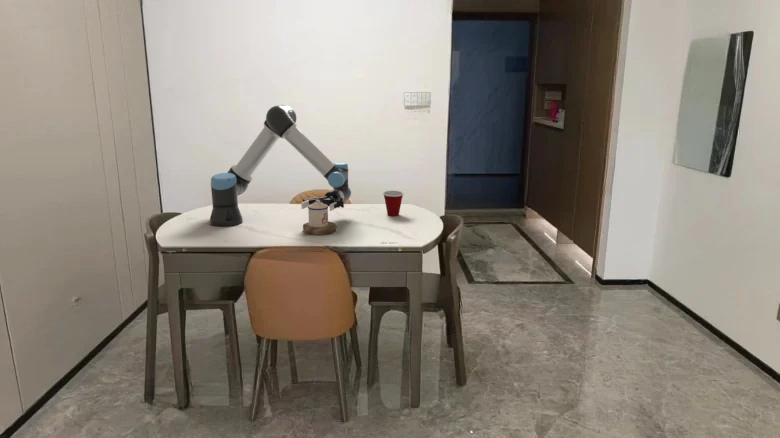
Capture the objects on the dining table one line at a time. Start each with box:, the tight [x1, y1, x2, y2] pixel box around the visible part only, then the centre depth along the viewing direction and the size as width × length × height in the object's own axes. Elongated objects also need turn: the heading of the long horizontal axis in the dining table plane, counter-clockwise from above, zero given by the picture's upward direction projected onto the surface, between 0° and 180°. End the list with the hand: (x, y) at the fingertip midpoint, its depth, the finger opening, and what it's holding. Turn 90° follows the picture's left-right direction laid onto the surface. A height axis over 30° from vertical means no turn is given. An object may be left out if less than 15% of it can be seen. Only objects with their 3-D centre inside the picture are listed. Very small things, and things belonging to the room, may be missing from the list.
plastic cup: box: [382, 190, 405, 217], centre depth 277 cm, size 11×11×12 cm
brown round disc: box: [302, 220, 337, 236], centre depth 246 cm, size 15×15×3 cm
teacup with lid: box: [307, 200, 329, 228], centre depth 244 cm, size 12×9×12 cm
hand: (316, 206), depth 241 cm, fingers open, 13 cm apart
